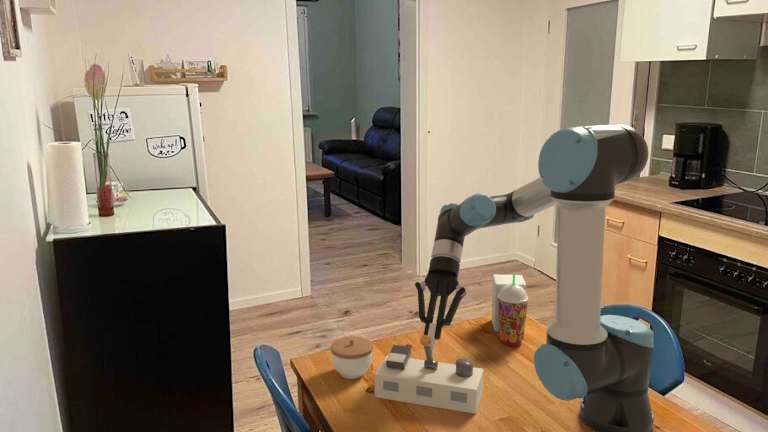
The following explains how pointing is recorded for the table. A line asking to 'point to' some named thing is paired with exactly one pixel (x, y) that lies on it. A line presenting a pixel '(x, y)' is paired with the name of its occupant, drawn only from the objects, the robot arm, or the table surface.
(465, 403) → the console
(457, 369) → the button
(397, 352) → the block
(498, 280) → the supplement box
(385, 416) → the table surface
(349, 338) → the lidded jar
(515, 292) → the smoothie
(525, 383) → the table surface
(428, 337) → the lever
